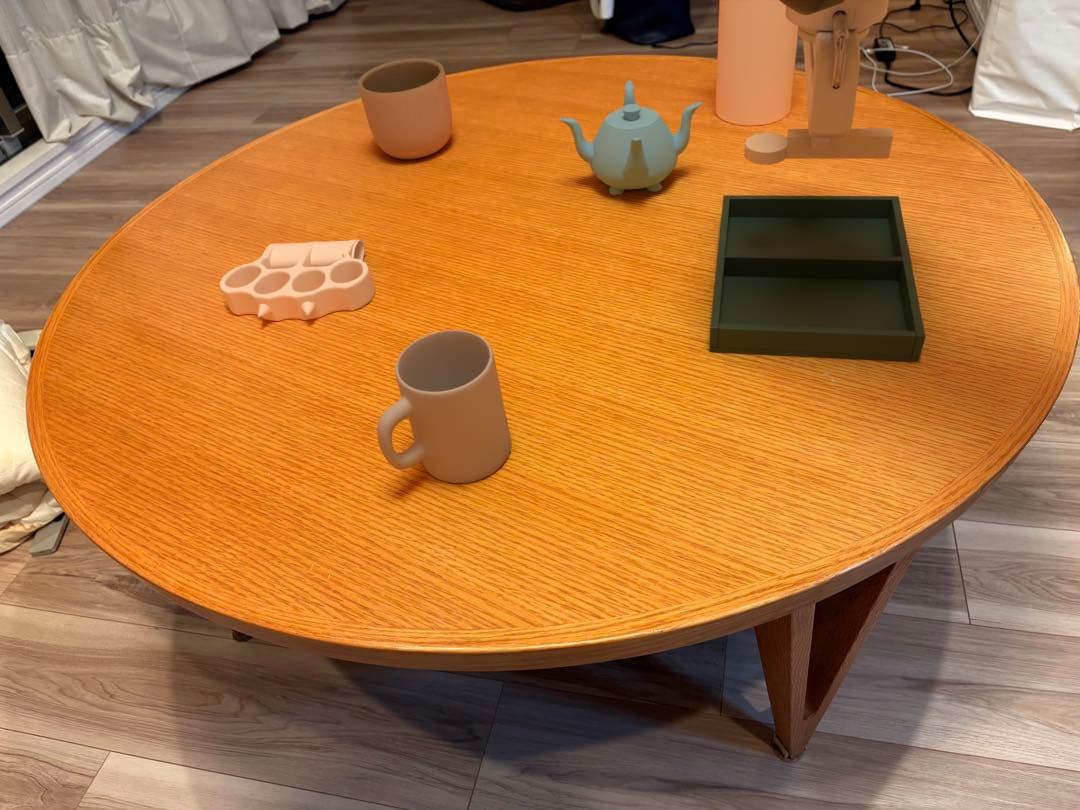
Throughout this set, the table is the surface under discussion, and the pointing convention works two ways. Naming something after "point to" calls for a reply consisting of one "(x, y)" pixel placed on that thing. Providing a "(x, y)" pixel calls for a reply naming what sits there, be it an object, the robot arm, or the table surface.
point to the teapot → (633, 146)
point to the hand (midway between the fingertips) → (818, 139)
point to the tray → (815, 279)
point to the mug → (448, 408)
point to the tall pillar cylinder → (754, 62)
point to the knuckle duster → (300, 281)
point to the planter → (407, 107)
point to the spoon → (799, 147)
